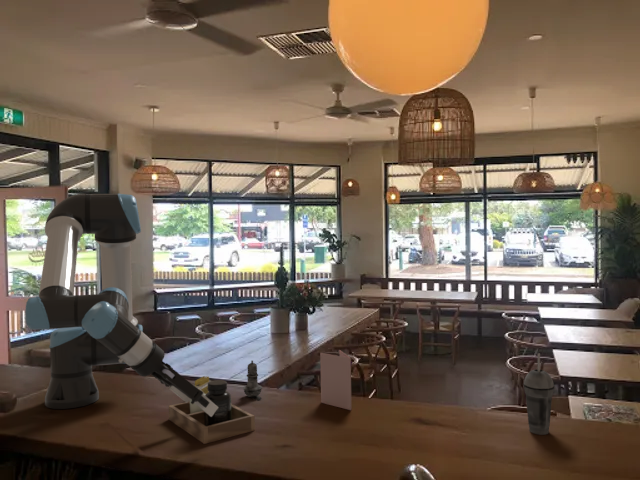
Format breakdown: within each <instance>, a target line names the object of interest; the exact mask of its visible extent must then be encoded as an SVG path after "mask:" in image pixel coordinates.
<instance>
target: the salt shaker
mask: <svg viewBox="0 0 640 480" xmlns="http://www.w3.org/2000/svg"><path fill="white" fill-rule="evenodd" d="M246 377H247V383H246V385H244V386H243V387H242V390H243V392H244V394H245V395H246V396H247V397H248V398H249V399H252V400H255V401H257V402H259V401H261V400H262V397H261V396H260V394H261V392H262V389H263V386H262V385H260V384H259V382H258V377H259V374H258V366H257V364H256V363H254V360H251V362H250V363H249V364H247V374H246Z"/></svg>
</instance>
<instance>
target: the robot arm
mask: <svg viewBox="0 0 640 480" xmlns="http://www.w3.org/2000/svg"><path fill="white" fill-rule="evenodd" d="M137 203H138V202H137V199H136V197H135V196H134V195H133V194H125V193H77V194H74V195H71V196H68V197H66V198H65V199H63V200H61V201H59V203H57V205H55V206H54V207H53V209H52V210H51V211H50V212H49V214H48V216H47V218H46V220H45V227H44V233H45V236H46V237H47V239H46V246H45V252H44V258H43V264H42V265H43V266H42V271H41V279H40V284H39V285H40V286H39V292H38V296H35V297H34V296H33V297H29V298H28V299H27V301H26V302H25V315H24V316H25V322H26V323H25V324H26V326H27V328H29V329H30V330H47V331H48V330H53V329H55V330H53V331H52V332H51V334H50V337H49V350H50V351H49V353H50V354H49V357H50V381H49V384H48V387H47V390H46V394H45V396H44V406H45V407H46V408H49V409H54V410H64V409H75V408H81V407H85V406H88V405H91V404H93V403H95V402H97V401H99V398H100V391H99V388H98V385H97V384H96V380H95V378H94V374H93V367H94V366H95V367H96V366H106V365H108V366H109V365H117V364H123V365H124V364H126V365H127V366H129V367H130V369H132V370H133V371H134V372H136V373H137V374H138V376H140V377H148V376H150V375H151V376H152V377H153V378H155V379H157V380H158V381H159V382H160V383H161V385H164V386H165V387H167V388H168V389H169V391H172V393H173V394H175V395H176V396H177V397H178V398H180V399H181V400H182V401H183V402H186V403H188V402H189V401H190V399H192V401H191V404H194V403H195V404H196V405H197V406H199V407H200V408H201V409H202V410H203V411H204V412H206V413H207V414H208V415H209V416H211V417H212V416H213V414H214V413H215V412H216V410H217V409H218V408H219V407H218V406H216V405H215V404H214V403H213V402H212V401H211V400H209V399H208V398H207V397H206V396H205V395H204V394H203V392H202V391H200V390H199V389H198V388H196V387H195V386H194V384H193V383H191V382H190V381H188V380H187V379H186V378H184V377H183V376H182V375H181V374H180V373H179V372H178V371H176V370H175V369H174V368H173V367H172V366H171V365H170V364H169V363H167V362H165V361H164V358H165V351H164V350H163V349H162V347H160V346H159V345H158V344H157V343H156V342H153V339H151V338H150V337H149V336H148V335H147V334H145V333H144V332H143V331H144V330H143V329H144V327H143V325H142V324H139V321H138V319H137V317H135V316H134V315H133V277H132V275H133V273H132V245H133V243H134V242H135V241H136V240H137V235H138V234H141V232H142V229H141V227H142V226H141V221H140V215H139V208H138V204H137ZM84 234H85V235H94V241H95V242H97V244H99V245H100V266H101V267H100V268H101V269H100V270H101V291H99V293H94V294H80V295H79V294H77V295H76V294H74V293H75V281H76V269H77V258H78V248H79V247H78V246H79V241H80V239H81V238H82V237H83V235H84Z"/></svg>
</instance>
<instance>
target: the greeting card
mask: <svg viewBox="0 0 640 480" xmlns="http://www.w3.org/2000/svg"><path fill="white" fill-rule="evenodd" d="M338 351H339V354H338V355H337V354H330V353H325V352H319V353H320V354H319V355H320V359H319V360H320V402H321V404H326V405H328V406H329V405H330V406H332V407H333V406H334V407H336V408H337V407H338V408H342V409H345V410H348V411H352V365H353V361H352V360H351V357H350V356H348V355H347V354H346V353H345V352H343V351H342V350H340V349H339V350H338Z"/></svg>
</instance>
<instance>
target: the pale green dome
mask: <svg viewBox="0 0 640 480" xmlns="http://www.w3.org/2000/svg"><path fill="white" fill-rule="evenodd" d="M204 395H205V394H204ZM189 401H190V414H192V413H196V412H201V411H203V410H202V409H201V408H200V407H199V406H197V405H196V404H195V403H194V404H191V401H192V399H190V400H189Z"/></svg>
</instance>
